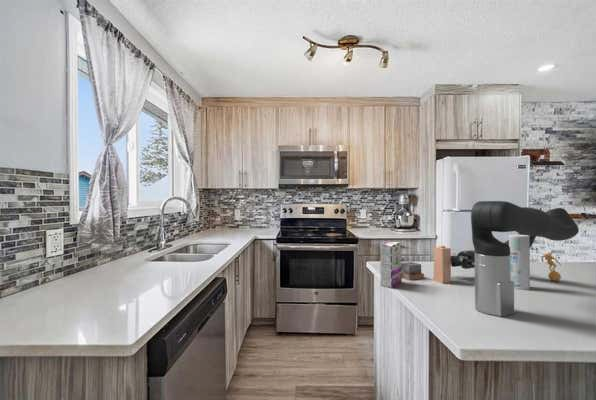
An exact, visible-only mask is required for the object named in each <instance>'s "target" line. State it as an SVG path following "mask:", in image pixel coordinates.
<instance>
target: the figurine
mask: <svg viewBox="0 0 596 400" xmlns="http://www.w3.org/2000/svg"><path fill="white" fill-rule="evenodd" d="M552 255H553V253H552V251H549V252H548V253H545V254H543V255H541V256H540V257H541V261H542V263H544V262H545V260H544V258H545V259H546V263H547V264H548V265H549V267H548V268H549V270H550V272H549V273H548V274H547V275H548V279H549V280H551V281H553V282H558V281H560V280H561V279H562V276H561V274H560V273H559V272H557V271H556V270H555V269H556V267H557V264H559V266H560V267H562V264H561V262H559V260H557V258H555V257H554V256H552ZM552 260H554V261H555V262H556V263H557V264H556V263H555V262H554V261H552Z"/></svg>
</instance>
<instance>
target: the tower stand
mask: <svg viewBox="0 0 596 400" xmlns="http://www.w3.org/2000/svg"><path fill="white" fill-rule="evenodd" d="M401 277H402V279H405V280H408V281H417V280H423V278H424V279H425V274H424V273H422V264H421V263H417V262H413V261H405V262H402V261H401Z"/></svg>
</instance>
